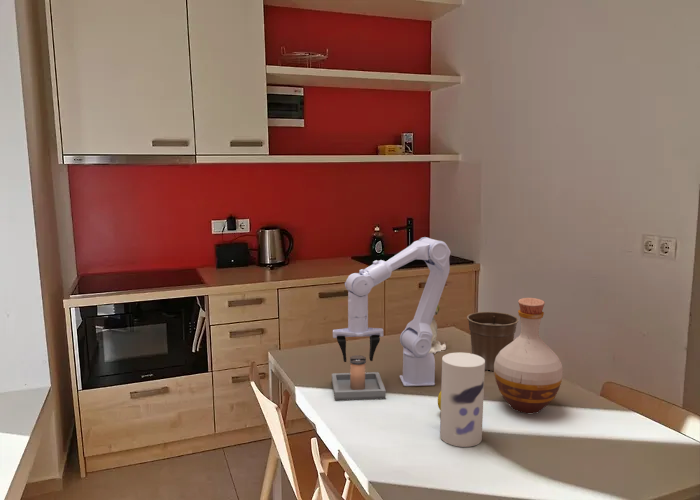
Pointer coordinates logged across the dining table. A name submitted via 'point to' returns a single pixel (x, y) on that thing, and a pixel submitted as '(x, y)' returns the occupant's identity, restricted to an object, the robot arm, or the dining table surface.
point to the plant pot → (491, 334)
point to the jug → (528, 364)
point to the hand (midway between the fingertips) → (357, 360)
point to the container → (462, 399)
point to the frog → (435, 344)
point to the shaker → (357, 372)
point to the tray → (371, 391)
